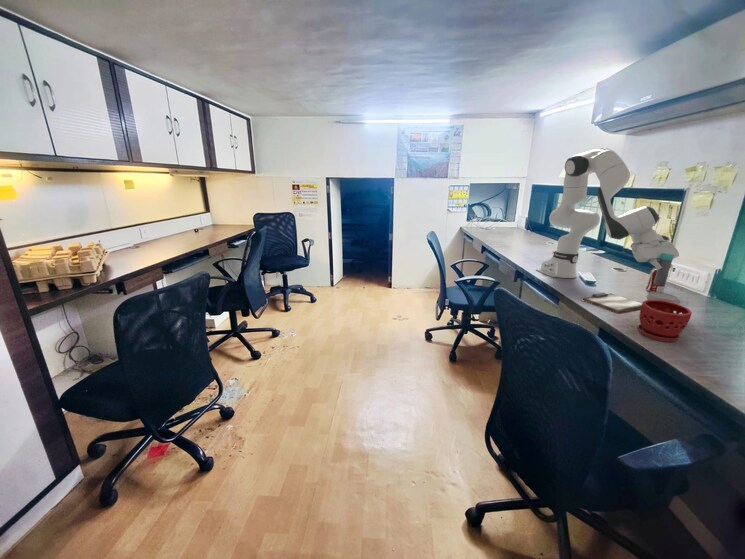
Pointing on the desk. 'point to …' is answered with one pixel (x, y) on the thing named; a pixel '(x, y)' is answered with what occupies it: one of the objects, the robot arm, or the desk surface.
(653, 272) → the soda can
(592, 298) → the clipboard
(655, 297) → the disposable coffee cup
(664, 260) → the ball
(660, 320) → the plant pot
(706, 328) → the desk surface
